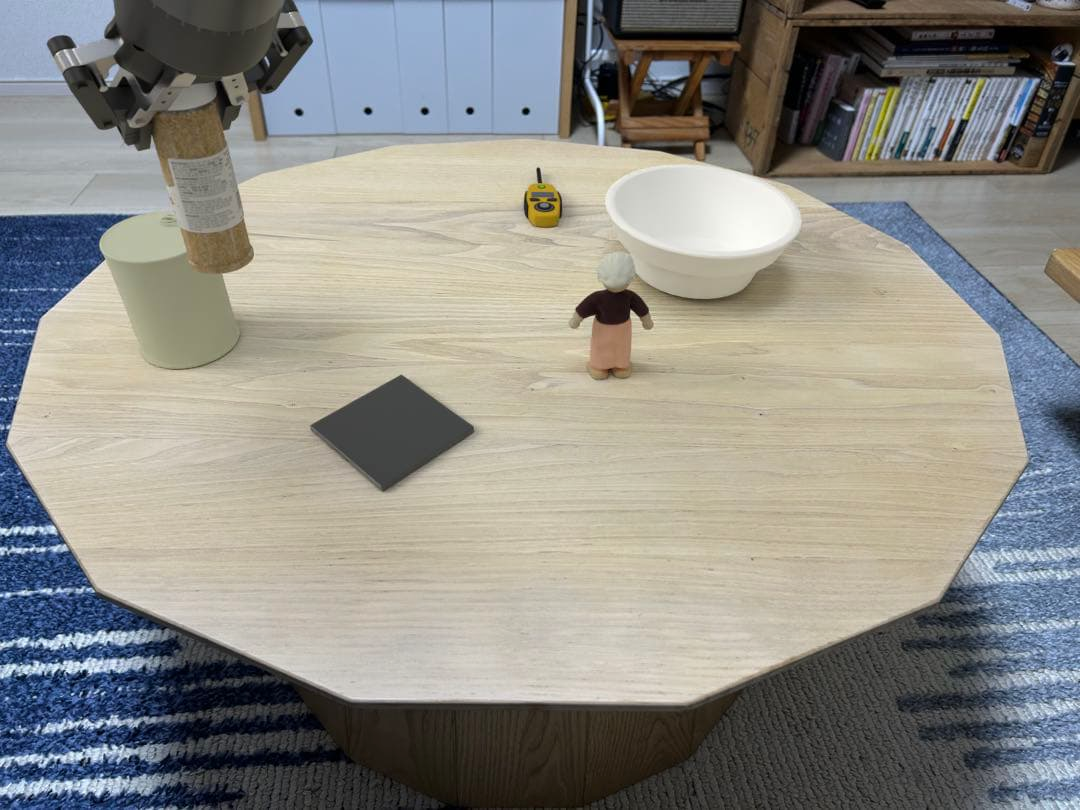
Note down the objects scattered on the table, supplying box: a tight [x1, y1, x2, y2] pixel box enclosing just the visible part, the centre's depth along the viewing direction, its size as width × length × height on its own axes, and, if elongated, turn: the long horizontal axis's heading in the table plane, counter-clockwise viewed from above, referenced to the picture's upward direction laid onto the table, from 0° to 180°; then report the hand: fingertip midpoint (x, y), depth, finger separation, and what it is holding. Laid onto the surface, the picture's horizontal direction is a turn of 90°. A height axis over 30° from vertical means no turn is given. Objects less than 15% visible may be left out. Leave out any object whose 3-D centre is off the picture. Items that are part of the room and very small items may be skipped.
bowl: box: [604, 163, 803, 300], centre depth 85 cm, size 21×21×8 cm
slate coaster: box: [309, 374, 475, 492], centre depth 66 cm, size 10×10×1 cm
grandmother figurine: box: [568, 250, 655, 381], centre depth 70 cm, size 8×4×13 cm, turn 106°
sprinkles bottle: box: [151, 82, 255, 275], centre depth 50 cm, size 5×5×14 cm
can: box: [98, 210, 241, 370], centre depth 71 cm, size 9×9×12 cm
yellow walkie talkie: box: [523, 167, 563, 228], centre depth 99 cm, size 5×2×15 cm
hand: (176, 126), depth 50 cm, fingers closed on sprinkles bottle, 4 cm apart
